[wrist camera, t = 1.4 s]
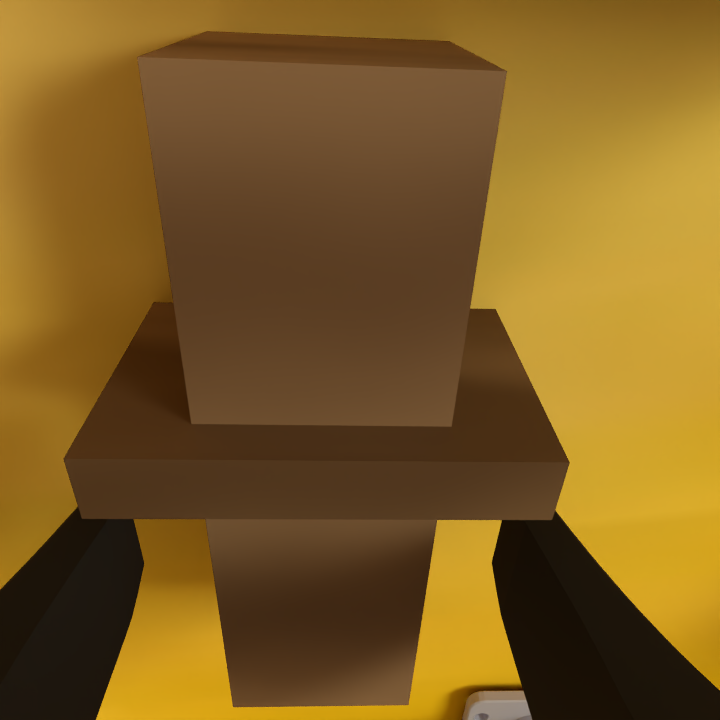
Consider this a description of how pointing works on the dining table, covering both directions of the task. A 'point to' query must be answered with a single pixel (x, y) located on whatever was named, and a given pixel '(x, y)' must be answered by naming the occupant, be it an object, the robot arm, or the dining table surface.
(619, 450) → the dining table surface
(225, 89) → the brown collared bar
